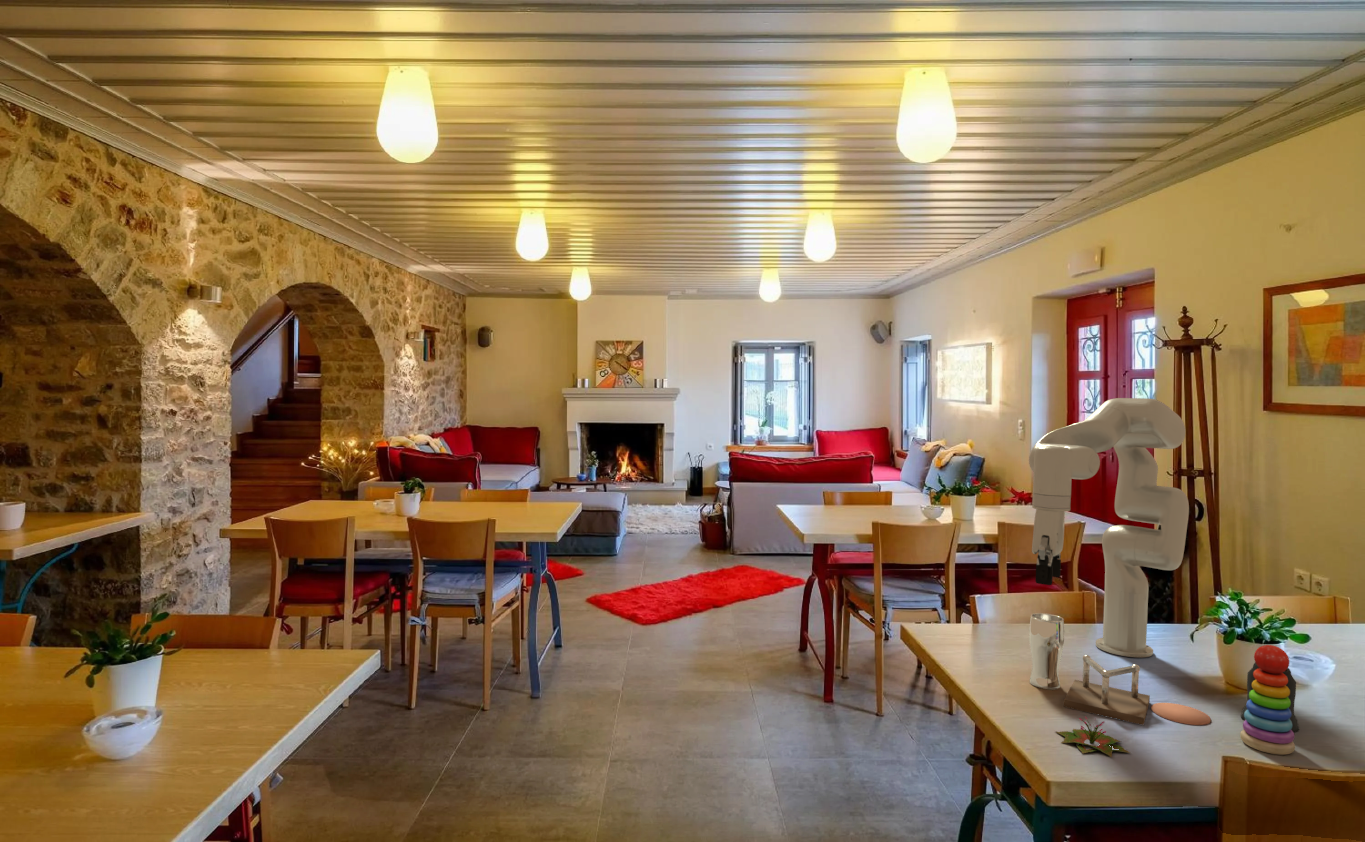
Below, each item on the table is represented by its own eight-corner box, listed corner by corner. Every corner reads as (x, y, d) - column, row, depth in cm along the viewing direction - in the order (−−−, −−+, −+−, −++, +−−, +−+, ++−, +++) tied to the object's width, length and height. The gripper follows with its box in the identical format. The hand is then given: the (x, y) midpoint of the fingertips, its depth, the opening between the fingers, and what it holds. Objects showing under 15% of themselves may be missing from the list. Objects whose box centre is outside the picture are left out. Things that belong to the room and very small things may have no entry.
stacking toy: (1228, 736, 141) (1233, 638, 141) (1268, 736, 142) (1273, 638, 141) (1265, 757, 133) (1269, 652, 133) (1306, 756, 134) (1311, 652, 133)
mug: (1299, 737, 142) (1302, 678, 141) (1239, 723, 147) (1241, 666, 147) (1299, 717, 151) (1301, 662, 150) (1242, 705, 157) (1245, 651, 156)
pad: (1153, 700, 158) (1153, 698, 158) (1211, 712, 152) (1211, 711, 152) (1149, 715, 150) (1149, 714, 150) (1210, 729, 144) (1210, 728, 144)
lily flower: (1078, 761, 131) (1079, 735, 131) (1042, 731, 143) (1043, 707, 143) (1145, 761, 132) (1146, 735, 132) (1103, 731, 144) (1104, 707, 143)
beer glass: (1066, 692, 162) (1069, 623, 161) (1031, 688, 163) (1034, 620, 163) (1057, 680, 168) (1059, 614, 168) (1023, 677, 170) (1026, 611, 169)
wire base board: (1074, 686, 165) (1074, 679, 165) (1149, 702, 157) (1149, 695, 157) (1063, 706, 154) (1063, 699, 153) (1143, 725, 145) (1143, 717, 145)
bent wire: (1082, 684, 162) (1083, 653, 162) (1139, 696, 156) (1140, 664, 156) (1074, 698, 154) (1076, 665, 154) (1134, 711, 148) (1136, 677, 148)
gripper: (1040, 497, 174) (1037, 571, 174) (1024, 504, 160) (1021, 584, 160) (1076, 500, 169) (1073, 576, 170) (1063, 508, 155) (1059, 590, 156)
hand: (1048, 580), depth 165 cm, fingers open, 9 cm apart
